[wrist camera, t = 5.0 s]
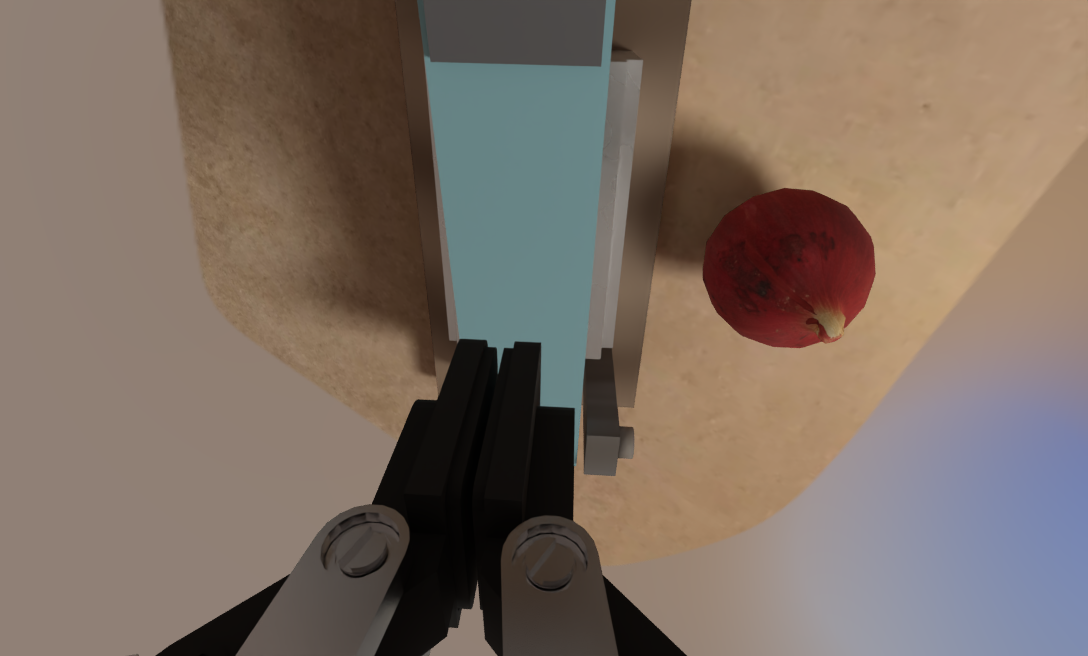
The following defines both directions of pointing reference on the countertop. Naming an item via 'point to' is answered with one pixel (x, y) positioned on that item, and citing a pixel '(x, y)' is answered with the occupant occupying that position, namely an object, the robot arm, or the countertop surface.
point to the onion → (789, 268)
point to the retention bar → (521, 170)
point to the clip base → (659, 39)
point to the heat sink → (610, 204)
